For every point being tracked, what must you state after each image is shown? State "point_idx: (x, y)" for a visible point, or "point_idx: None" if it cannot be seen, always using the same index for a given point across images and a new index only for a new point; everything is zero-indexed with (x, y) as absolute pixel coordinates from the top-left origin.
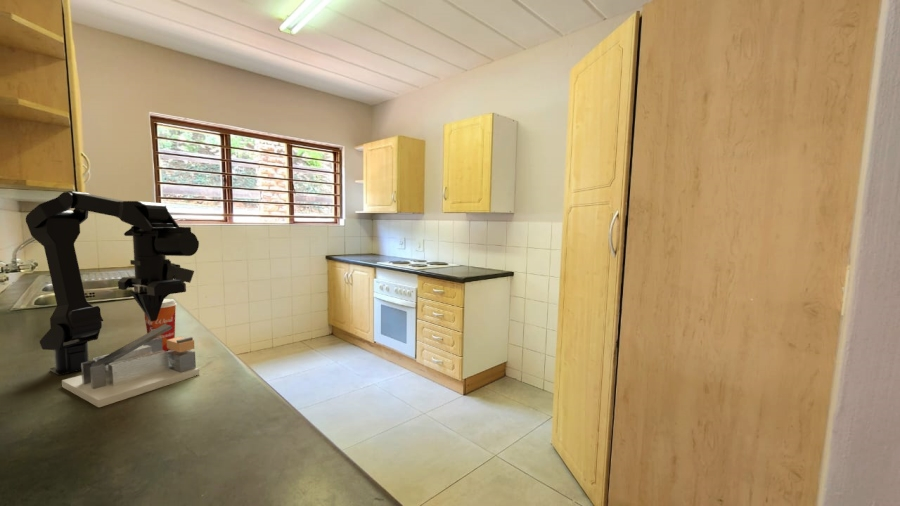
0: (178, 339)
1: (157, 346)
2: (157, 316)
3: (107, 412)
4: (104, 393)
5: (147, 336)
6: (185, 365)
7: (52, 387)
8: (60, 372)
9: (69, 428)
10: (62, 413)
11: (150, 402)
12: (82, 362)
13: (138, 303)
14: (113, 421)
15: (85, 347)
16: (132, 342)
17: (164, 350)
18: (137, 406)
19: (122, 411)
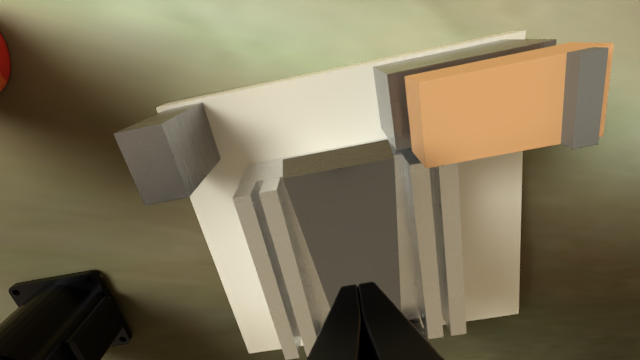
0: (486, 114)
1: (189, 137)
2: (388, 301)
3: (561, 289)
4: (479, 299)
5: (366, 261)
6: None
7: (236, 349)
8: (119, 339)
9: (574, 343)
10: (465, 346)
11: (605, 212)
12: (103, 316)
13: None
14: (634, 287)
15: (35, 345)
16: None
17: (5, 49)
18: (597, 239)
19: (592, 267)
